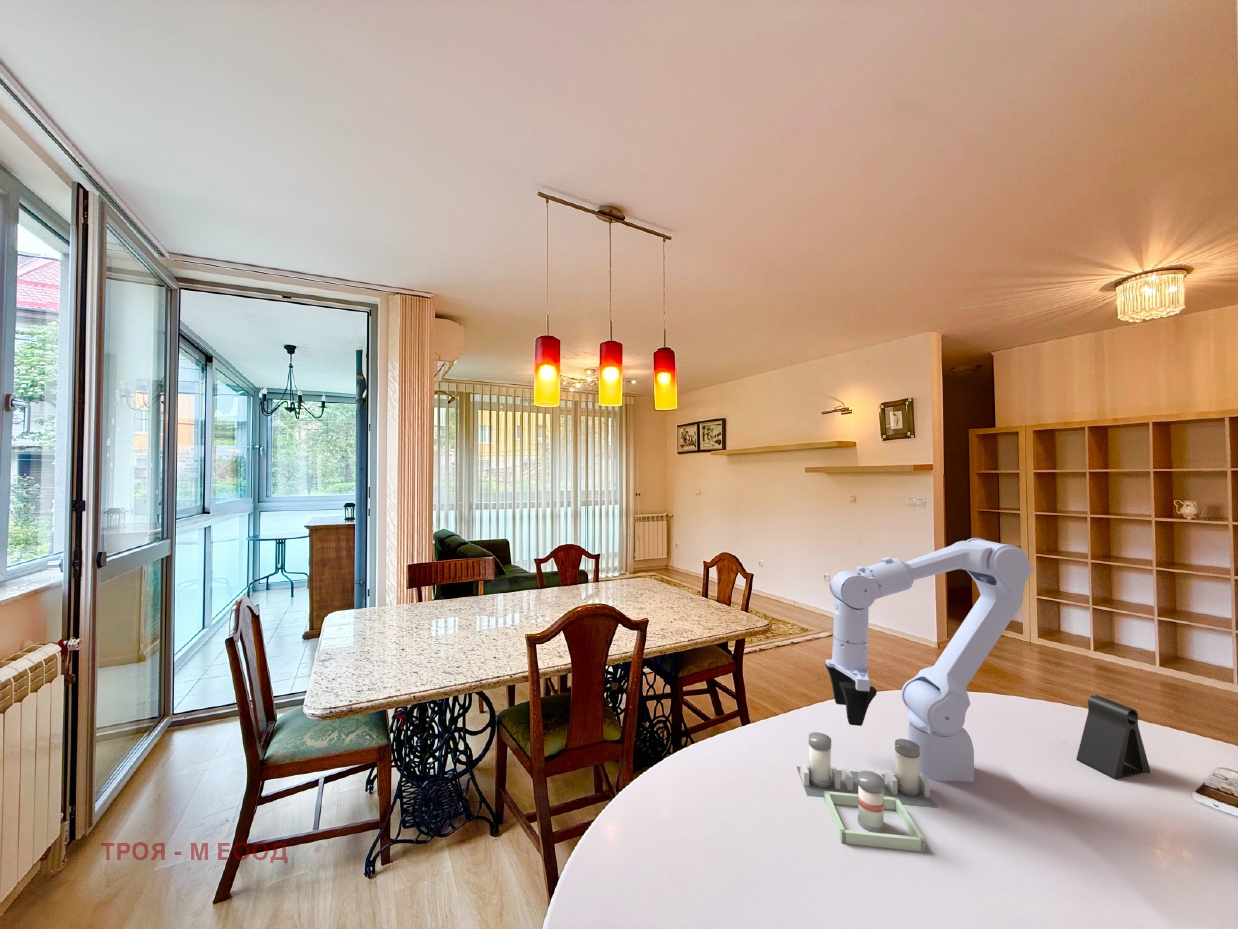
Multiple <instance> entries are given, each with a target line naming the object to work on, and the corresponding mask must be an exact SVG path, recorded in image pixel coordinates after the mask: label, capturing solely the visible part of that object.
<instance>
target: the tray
mask: <svg viewBox="0 0 1238 929" xmlns="http://www.w3.org/2000/svg"><path fill="white" fill-rule="evenodd" d="M823 802H824V804H825V807H826V808H827V811H828V813H829V816H830V818H831V821H832V823H833V826H834V827H835V828H834V829H835V830H836V833H837V836H838V838H839V840H840V843H841V844H846V845H847V844H848V845H857V846H866V847H875V848H886V849H895V850H905V851H912V852H913V851H914V852H925V853H926V849H927V848H926V845H927V844H926V839H925V838H924V836H923V835H922V833H921V831H920V829H919V828H918V827H917V825H916V823H915V822H914V821H913V819H912V817H911V816H910V815H909V813H908V811H907V810H906V808H905V807H904V805H902V804H901V802H900V800H899V799H898V798H894V797H884V810H894V811H896V813H897V815H898V816H899V819H900V820H901V821H902V824H904V826H905V828H906V830H907V831H908V833H909V834H910V835H901V834H891V833H883V832H881V833H873V832H870V831H861V830H851V829H845V827H844V825H843V823H842V820H841V818H840V816H839V813H838V812H837V808H836V806H835V805H838V806H839V805H842V806H852V807H858V794H851V793H840V792H829V791H824V797H823Z"/></svg>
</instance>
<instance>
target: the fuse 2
mask: <svg viewBox="0 0 1238 929" xmlns="http://www.w3.org/2000/svg"><path fill="white" fill-rule="evenodd" d="M894 750H895V751H894V752H895V768H894V769H895V770H894V771H895V772H894V773H895V774H894V775H895V778H896V779H897V781H898V792H900V793H902V794H904V795H906V796H910V797H916V796H919V794H920V785H919V756H920V747H919V745H918V744H916V743H915V742H912V741H910V740H908V739H906V738H897V739H895V741H894Z"/></svg>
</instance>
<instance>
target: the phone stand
mask: <svg viewBox="0 0 1238 929" xmlns="http://www.w3.org/2000/svg"><path fill="white" fill-rule="evenodd" d="M1087 708H1088V710H1087V715H1086V720H1085V723H1084V728H1083V730H1082V731H1083V732H1082V735H1081V739H1080V743H1079V748H1078V751H1077V755H1076V761H1078V762H1079V761H1080V763H1082V764H1083V763H1084V765H1086V766H1087V767H1090V768H1092V769H1094V770H1096V771H1097V772H1100V773H1102V774H1104V775H1106V776H1108V777H1110V778H1111V779H1113V780H1120V779H1125V777H1126V778H1130V777H1135V775H1137V776H1141V775H1140V774H1142V773H1143V774H1142V775H1145V774H1144V773H1147V774H1150V773H1151V768H1150V765H1149V761H1148V757H1147V753H1146V750H1145V746H1144V742H1143V738H1142V735H1141V731H1140V728H1139V713H1138V710H1136V709H1135V708H1132V707H1130V706H1127V705H1124V704H1122V703H1119V702H1117V701H1114V700H1110V699H1109V698H1105V697H1103V696H1102V695H1097V694H1095V695H1093V694H1092V695H1090V696H1089V699H1088V701H1087ZM1138 774H1139V775H1138Z"/></svg>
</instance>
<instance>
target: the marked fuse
mask: <svg viewBox="0 0 1238 929" xmlns="http://www.w3.org/2000/svg"><path fill="white" fill-rule="evenodd" d="M858 772H859V773H858V806H857V808H858V810H857V812H858V814H857V823H858V825H859V826H860V828H863V830H866V832H873V833H883V832H884V831H885V819H884V818H885V817H884V813H885V812H884V810H885V809H884V779H883V778H882V777H881V776H880V775H878V774H876V773H874V772H873V771H872V770H871V771H869V770H860V771H858Z"/></svg>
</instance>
